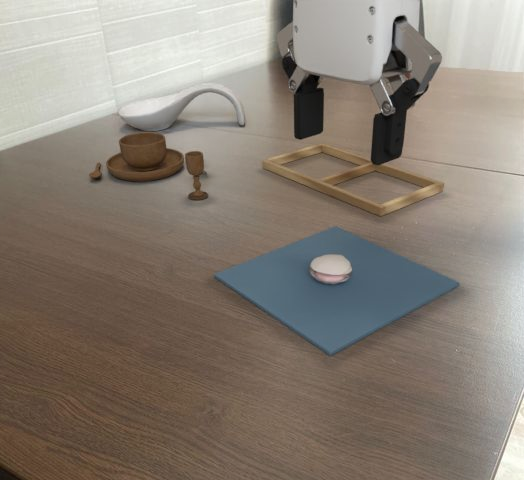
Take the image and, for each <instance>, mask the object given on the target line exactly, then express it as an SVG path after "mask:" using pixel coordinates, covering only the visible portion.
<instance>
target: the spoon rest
mask: <svg viewBox="0 0 524 480" xmlns="http://www.w3.org/2000/svg"><path fill="white" fill-rule="evenodd" d="M207 93H211V94H212V93H213V94H217V95H220V96H222V97H224V98H226V99H227V101H229V102H230V103H231V105H232V106H233V108H234V110H235V113H236V117H237V119H236V120H237V123H238V125H239V126H244V125H245V123H246V114H245V113H246V112H245V109H244V105H243V102H242V100H241V99H240V97H239V96H238V94H237V93H236V92H235V91H234V90H232V89H231V88H229V87H227V86H226V85H223V84H219V83H215V82H202V83H197V84H195V85H192V86H189V87H187V88H185V89H183V90H180V91H178V92H174V93H171V94H167V95H163V96H157V97H151V98H147V99H141V100H137V101H134V102H133V101H132V102H130V103H128V104H126V105H124V106H122V107H120V108H119V110H118V111H117V114H118V117H120V119H121V120H122V121H123V122H124V123H126V124H127V125H129V126H131V127H132V128H135V129H138V130H139V131H143V132H155V131H163V130H166V129H169V128H170V127H171V126H172V124H174V122H175V121H176V120H177V119H178V118H179V116H180V115H181V114H182V113H183V111H184V110H185V109H186V108H187V106H188V105H190V103H191V102H192V101H193V100H194V99H195V98H197V97H198V96H201V95H203V94H207Z"/></svg>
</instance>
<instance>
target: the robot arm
mask: <svg viewBox="0 0 524 480" xmlns="http://www.w3.org/2000/svg"><path fill="white" fill-rule="evenodd" d="M292 1H293V3H292V4H293V6H292V21H291V22H290V23H288V24H287V25H285V26H284V27H283V28H282V29H280V30H279V31H278V32H277V34H276V36H275V37H276V43H277V47H278V50H279V53H280V57H281V58H282V61H281V65H282V68H283V70H284V72H285V74H286V76H287V78H288V84H287V85H288V89H289V91H290V92H291V93H292V94H293V134H294V135H293V137H294V138H295V139H296V140H299V141H301V140H304V139H308V138H311V137H314V136H318V135H320V134H322V133H323V132H324V121H325V120H324V118H325V117H324V114H325V113H324V111H325V92H324V87H319V85H320V84H321V82H322V80H323V79H324V78H326V79H330V80H336V81H341V82H345V83H351V84H356V85H361V86H369V88H370V91H371V93H372V95H373V97H374V99H375V101H376V104H377V106H378V108H379V110H380V112H378V113H374V116H373V122H372V132H371V133H372V135H371V136H372V137H371V150H370V159H371V162H372V164H375V165H381V164H384V163H385V164H387V163H389V162H391V161H395V160H397V159H399V158H400V157H401V156H402V155H403V148H404V142H405V134H406V125H407V114H408V111H409V110H411V109H413V108H414V107H415V105H416V102H417V101H418V100H419V99H420V98H422V96H424V94H426V92H427V91H428V90H429V87H430V82H432V80H433V78H434V76H435V74H436V73H437V70H438V69H439V68H440V65H441V64H442V61H443V55H442V52H441V51H439V50H438V49H437V48H436V47H435V46H434V45H433V44H432V43H431V42H430V41H428V39H426V38H425V37H424V36H423V35H422V34H421V33H420V32H419V30H420V29H419V28H420V11H421V10H420V9H421V8H420V7H421V0H292ZM407 75H410V76H409V78H408V77H407ZM407 78H408V79H407ZM388 84H389V85H390V87H391V89H392V91H391V89H390V87H389V85H388ZM392 92H393V93H392Z"/></svg>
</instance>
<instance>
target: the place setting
mask: <svg viewBox="0 0 524 480" xmlns="http://www.w3.org/2000/svg"><path fill="white" fill-rule="evenodd" d="M118 144H119V150H120V152H118V153H116V154H113V155H112V156H110V157H109V158H108V159H107V160H106V162H105V166H106V169H107V171H108V172H109V173H110V174H111V175H112V176H113V177H115V178H118V179H120V180H124V181H127V182H134V183H135V182H141V183H142V182H152V181H157V180H162V179H165V178H168V177H170V176H171V177H172V175H175V174H176V173H177V172H178V171H180V170H181V169H182V167H183V166H184V164H185V167H186V170H187V172H188V174H189V175H191V176H192V178H193V184H192V186H193V188H194V189H195V190H194V191H192V192H190V193H188V195H187V198H188V199H189V200H191V201H202V200H205V199H207V198H208V197H209V193H208V192H206V191H203V190H201V188H202V184H201V180H200V175H202V174H203V175H205V174H208V173H207V171H206V170H205V164H204V163H205V159H204V153H203V152H202V151H199V150H195V151H194V150H191V151H188V152H186V153H184V154H183V153H182V151H180V150H177V149H173V148H169V147H167V141H166V136H165V135H164V134H162V133H159V132H155V131H143V132H134V133H130V134H127V135H124V136H123V137H121V138H119V140H118ZM100 168H101V162H97V163H96V165H95V168H94V171H92V172H90V173H89V174H88V176H89V178H91V179H99V178H100V177H101V176H102V175H103V173H102V172H101V171H100V170H99V169H100Z"/></svg>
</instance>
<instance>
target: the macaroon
mask: <svg viewBox="0 0 524 480" xmlns="http://www.w3.org/2000/svg"><path fill="white" fill-rule="evenodd" d="M310 267H311V268H310V273H311V275H312V276H313V277H314V278H315V279H317V280H318V281H319V282H323V283H325V284H337V283H341V282H344V281H346V280H347V279H348V278H349V276H350V275H351V273H352V267H351V265H350V262H349V261H348V260H347V259H346V258H345V257H344V256H342V255H336V254H328V255H323V256H321V257H317V258H315V259H314V260H313V261H312V262H311V264H310Z"/></svg>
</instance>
